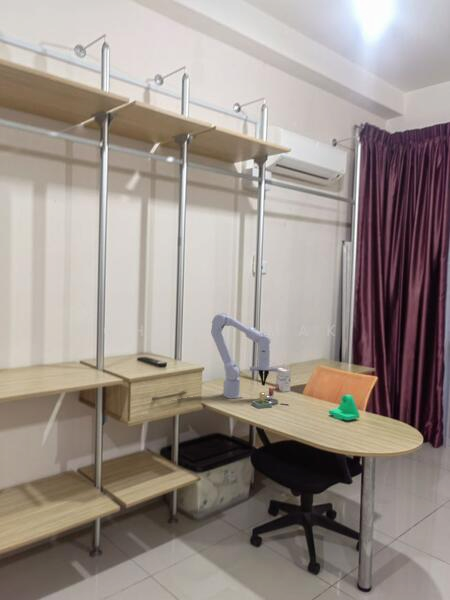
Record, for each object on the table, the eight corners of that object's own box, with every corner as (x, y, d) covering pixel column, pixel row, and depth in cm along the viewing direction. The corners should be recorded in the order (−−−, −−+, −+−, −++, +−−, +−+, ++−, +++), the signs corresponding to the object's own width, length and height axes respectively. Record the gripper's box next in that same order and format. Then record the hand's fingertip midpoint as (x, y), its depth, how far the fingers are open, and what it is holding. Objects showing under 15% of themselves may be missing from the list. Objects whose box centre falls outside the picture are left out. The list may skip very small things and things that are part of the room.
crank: (269, 401, 241) (269, 392, 241) (262, 400, 242) (262, 391, 242) (275, 396, 251) (275, 388, 250) (268, 395, 252) (268, 387, 252)
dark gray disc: (252, 400, 246) (252, 398, 246) (271, 398, 251) (271, 396, 251) (262, 406, 236) (262, 404, 236) (281, 404, 241) (282, 402, 241)
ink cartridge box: (275, 388, 274) (276, 362, 273) (283, 387, 276) (283, 362, 275) (282, 392, 266) (283, 365, 265) (290, 391, 268) (291, 365, 267)
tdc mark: (280, 404, 240) (280, 403, 240) (280, 403, 241) (280, 403, 241) (288, 405, 239) (288, 404, 239) (288, 404, 240) (288, 404, 240)
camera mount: (327, 415, 224) (328, 393, 223) (339, 413, 228) (340, 391, 227) (347, 422, 214) (347, 399, 213) (359, 420, 218) (360, 397, 217)
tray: (251, 404, 239) (252, 400, 239) (264, 403, 242) (265, 399, 241) (258, 408, 232) (258, 404, 232) (271, 407, 235) (271, 403, 235)
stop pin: (258, 404, 238) (259, 392, 238) (264, 404, 238) (264, 392, 238) (259, 405, 235) (260, 393, 235) (265, 405, 236) (265, 393, 235)
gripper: (249, 359, 246) (249, 386, 247) (278, 360, 245) (277, 387, 245) (250, 357, 253) (249, 383, 254) (278, 358, 252) (277, 384, 252)
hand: (263, 385), depth 250 cm, fingers closed
